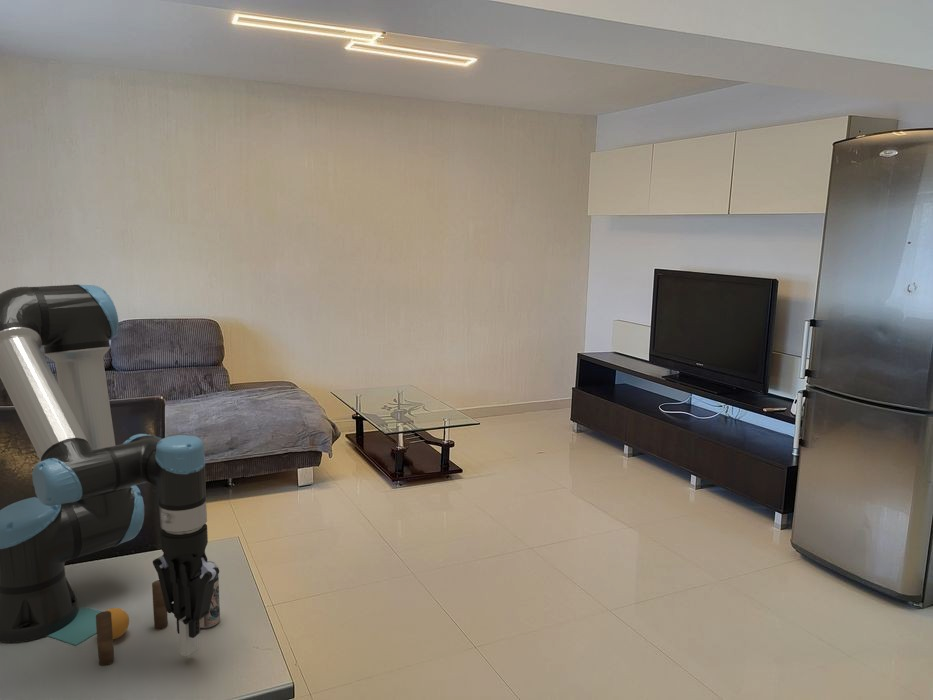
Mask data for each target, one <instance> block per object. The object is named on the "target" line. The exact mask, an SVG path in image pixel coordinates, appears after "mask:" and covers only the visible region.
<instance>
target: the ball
mask: <svg viewBox="0 0 933 700" xmlns="http://www.w3.org/2000/svg"><path fill="white" fill-rule="evenodd" d="M105 611H109V612H111V619H112V634H113V640H115V639H118V638H120V637H122V636H123V635H124V634H125V632H127V630H128V628H129V625H130V617H129V615H128V613H127V612H126V610H124V609H122V608H119V607H113V608H109V609H106V610H105ZM96 629H97V628H96Z"/></svg>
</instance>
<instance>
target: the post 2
mask: <svg viewBox="0 0 933 700" xmlns="http://www.w3.org/2000/svg"><path fill="white" fill-rule="evenodd" d="M151 590H152V608H153V609H152V610H153V626H154V629H155V630H157V631H158V630H160V631H161V630H164V629H166V628H167V627H168V626H169V623H168V622H169V621H168V620H169V619H168V612H167V611H166V607H165V603H164V598H163V594H162V590H161V586H160V581H159V579H158V580H155V581H153V582H152V583H151Z"/></svg>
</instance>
